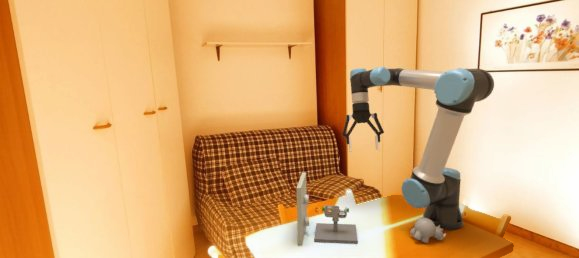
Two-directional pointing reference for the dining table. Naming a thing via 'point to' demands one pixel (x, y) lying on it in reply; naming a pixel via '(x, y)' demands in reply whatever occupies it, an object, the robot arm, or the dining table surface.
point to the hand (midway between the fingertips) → (363, 150)
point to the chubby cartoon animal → (426, 230)
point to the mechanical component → (335, 214)
